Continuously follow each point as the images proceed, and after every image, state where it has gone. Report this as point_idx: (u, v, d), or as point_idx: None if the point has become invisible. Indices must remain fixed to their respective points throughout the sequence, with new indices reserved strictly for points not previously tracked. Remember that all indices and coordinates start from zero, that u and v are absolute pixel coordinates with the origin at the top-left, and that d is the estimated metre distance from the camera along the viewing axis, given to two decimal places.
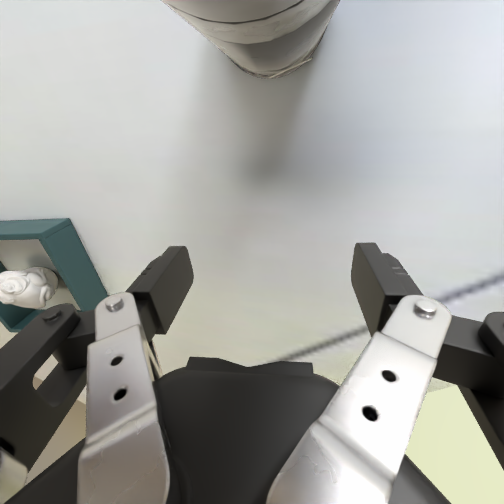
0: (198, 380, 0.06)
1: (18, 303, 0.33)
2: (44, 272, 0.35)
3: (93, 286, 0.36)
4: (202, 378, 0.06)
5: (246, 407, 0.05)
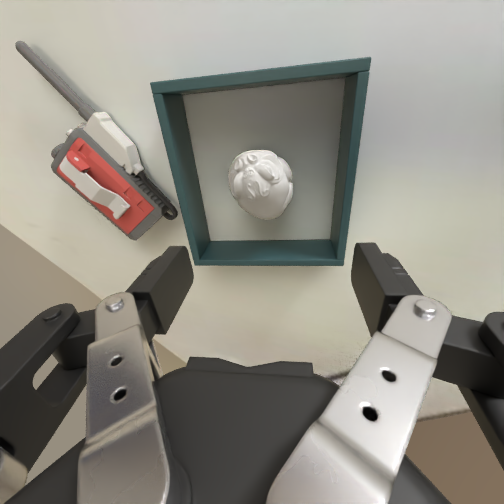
0: (198, 380, 0.06)
1: (266, 202, 0.22)
2: None
3: None
4: (202, 378, 0.06)
5: (246, 407, 0.05)
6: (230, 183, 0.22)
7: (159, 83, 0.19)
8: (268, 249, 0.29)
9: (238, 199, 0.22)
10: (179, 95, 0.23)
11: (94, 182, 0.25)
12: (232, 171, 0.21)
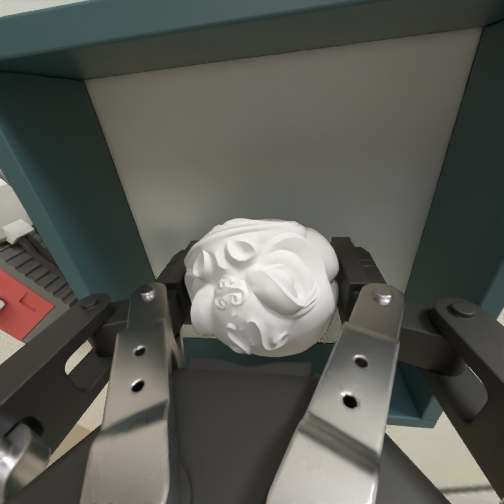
0: (198, 380, 0.06)
1: (278, 348, 0.08)
2: None
3: None
4: (202, 378, 0.06)
5: (246, 407, 0.05)
6: (190, 290, 0.09)
7: None
8: None
9: None
10: (71, 80, 0.10)
11: None
12: (190, 272, 0.08)
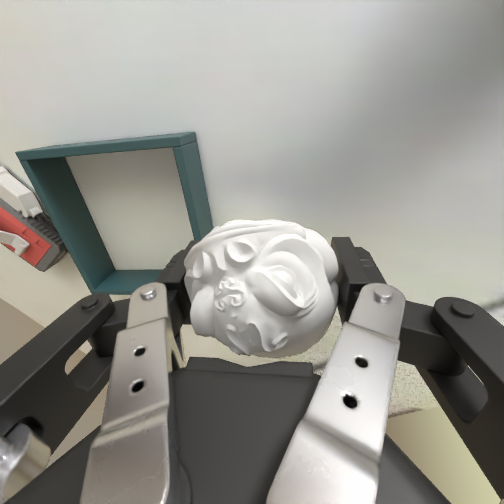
0: (198, 380, 0.06)
1: (277, 349, 0.08)
2: None
3: (209, 229, 0.28)
4: (202, 378, 0.06)
5: (246, 407, 0.05)
6: (190, 291, 0.09)
7: (22, 152, 0.23)
8: None
9: None
10: None
11: None
12: (190, 273, 0.08)
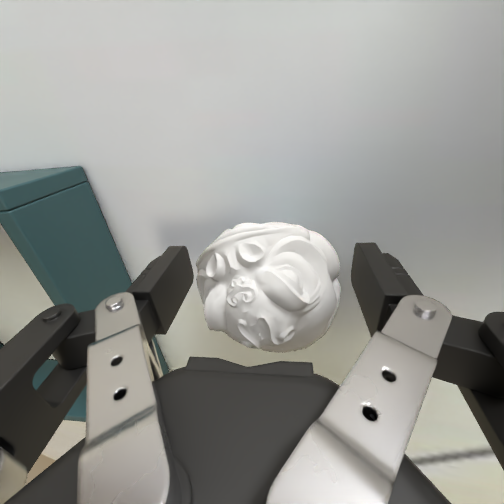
0: (198, 380, 0.06)
1: (284, 343, 0.09)
2: None
3: None
4: (202, 378, 0.06)
5: (246, 407, 0.05)
6: (201, 290, 0.10)
7: None
8: None
9: None
10: None
11: None
12: (203, 272, 0.09)
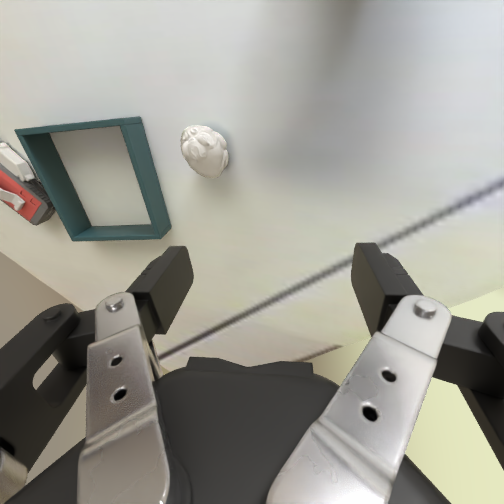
0: (198, 380, 0.06)
1: (206, 162, 0.31)
2: None
3: (156, 189, 0.39)
4: (202, 378, 0.06)
5: (246, 407, 0.05)
6: (182, 150, 0.32)
7: (19, 130, 0.34)
8: (121, 230, 0.43)
9: (188, 161, 0.32)
10: (44, 133, 0.37)
11: None
12: (182, 141, 0.31)
